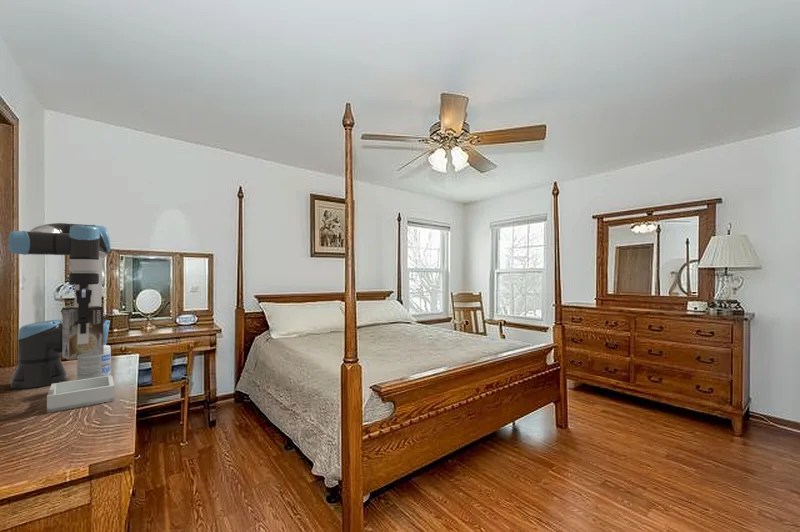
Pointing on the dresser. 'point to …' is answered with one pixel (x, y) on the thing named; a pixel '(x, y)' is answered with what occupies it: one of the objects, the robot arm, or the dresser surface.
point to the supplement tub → (95, 365)
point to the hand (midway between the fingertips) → (83, 341)
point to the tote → (80, 393)
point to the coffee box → (71, 329)
